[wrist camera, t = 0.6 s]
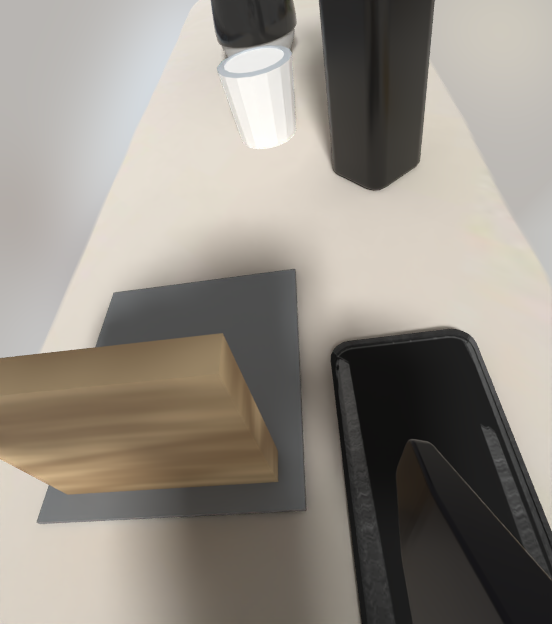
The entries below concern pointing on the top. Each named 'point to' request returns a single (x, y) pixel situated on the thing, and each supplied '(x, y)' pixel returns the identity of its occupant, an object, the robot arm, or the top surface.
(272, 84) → the white short tapered cylinder
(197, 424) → the oak block
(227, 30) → the black egg shape
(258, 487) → the charcoal mat
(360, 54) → the wine bottle
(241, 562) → the top surface
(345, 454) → the phone
